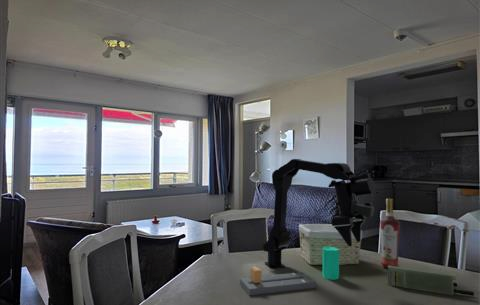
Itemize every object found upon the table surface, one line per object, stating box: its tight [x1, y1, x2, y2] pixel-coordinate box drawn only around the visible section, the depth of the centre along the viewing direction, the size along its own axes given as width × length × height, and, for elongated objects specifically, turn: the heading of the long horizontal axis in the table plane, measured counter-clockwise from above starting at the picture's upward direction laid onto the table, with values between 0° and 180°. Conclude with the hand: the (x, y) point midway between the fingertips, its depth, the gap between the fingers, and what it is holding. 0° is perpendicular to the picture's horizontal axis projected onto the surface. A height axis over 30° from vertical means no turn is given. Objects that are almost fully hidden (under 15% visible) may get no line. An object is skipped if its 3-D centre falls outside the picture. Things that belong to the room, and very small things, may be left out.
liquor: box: [379, 198, 401, 270], centre depth 131 cm, size 7×7×28 cm
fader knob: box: [249, 265, 262, 283], centre depth 107 cm, size 4×2×4 cm, turn 17°
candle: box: [322, 247, 340, 280], centre depth 119 cm, size 6×6×12 cm
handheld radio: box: [387, 265, 475, 297], centre depth 107 cm, size 7×3×25 cm
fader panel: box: [239, 271, 317, 296], centre depth 109 cm, size 10×24×2 cm, turn 107°
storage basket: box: [298, 223, 363, 266], centre depth 140 cm, size 24×16×15 cm
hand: (354, 243), depth 109 cm, fingers open, 9 cm apart
